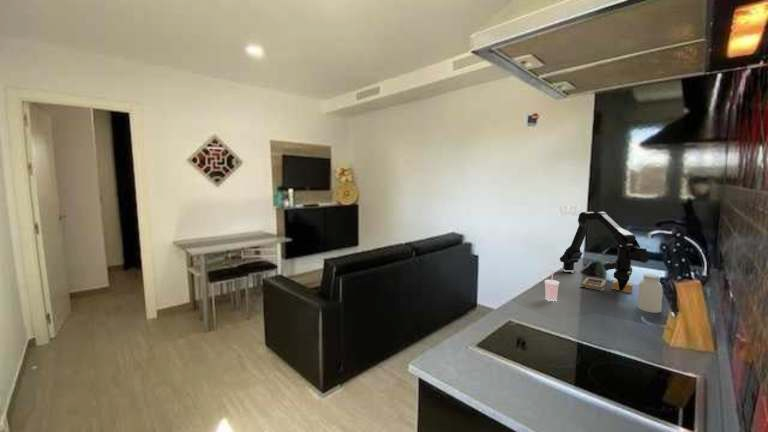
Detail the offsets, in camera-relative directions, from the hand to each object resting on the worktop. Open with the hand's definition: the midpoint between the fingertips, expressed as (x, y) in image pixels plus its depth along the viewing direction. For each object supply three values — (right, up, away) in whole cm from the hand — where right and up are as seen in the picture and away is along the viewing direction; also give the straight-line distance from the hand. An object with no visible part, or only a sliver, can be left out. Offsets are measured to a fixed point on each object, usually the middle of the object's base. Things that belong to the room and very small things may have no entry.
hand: (622, 288), depth 166 cm
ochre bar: (0, -1, 0) cm, 1 cm away
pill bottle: (-7, -4, -25) cm, 27 cm away
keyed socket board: (-10, 0, +7) cm, 12 cm away
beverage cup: (-43, -3, -14) cm, 46 cm away
